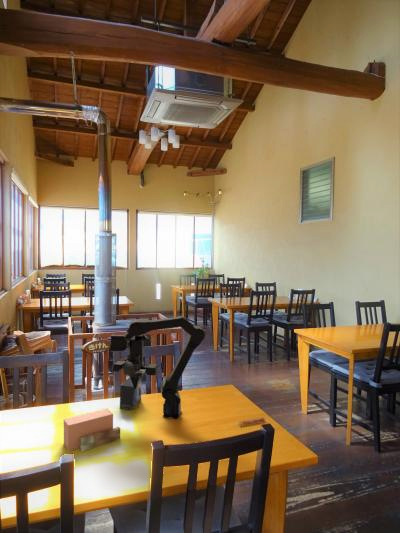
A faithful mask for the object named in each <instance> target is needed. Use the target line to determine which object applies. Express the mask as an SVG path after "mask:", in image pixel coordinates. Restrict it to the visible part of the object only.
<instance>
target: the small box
mask: <svg viewBox="0 0 400 533" xmlns="http://www.w3.org/2000/svg"><path fill="white" fill-rule="evenodd" d="M141 401H142V378H141V380H140V382H139V385H138V387H137V389H134V386H133V384H132V381H131V379H130V377H129V376H128V378H127V379H126V380H124V381H123V382H122V383H121V384H120V385H119V409H123V410H131V411H133V410H134V409H135V408H136V407H137V405H139V403H141Z"/></svg>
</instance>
